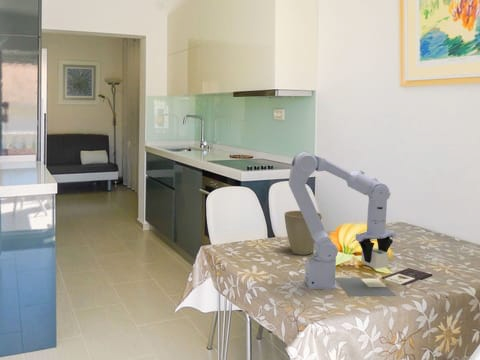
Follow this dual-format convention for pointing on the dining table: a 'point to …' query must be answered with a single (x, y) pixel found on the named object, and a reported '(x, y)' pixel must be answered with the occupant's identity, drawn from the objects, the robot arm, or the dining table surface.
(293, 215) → the plant pot
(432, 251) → the dining table surface
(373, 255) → the card deck box
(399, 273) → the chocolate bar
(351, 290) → the mat
